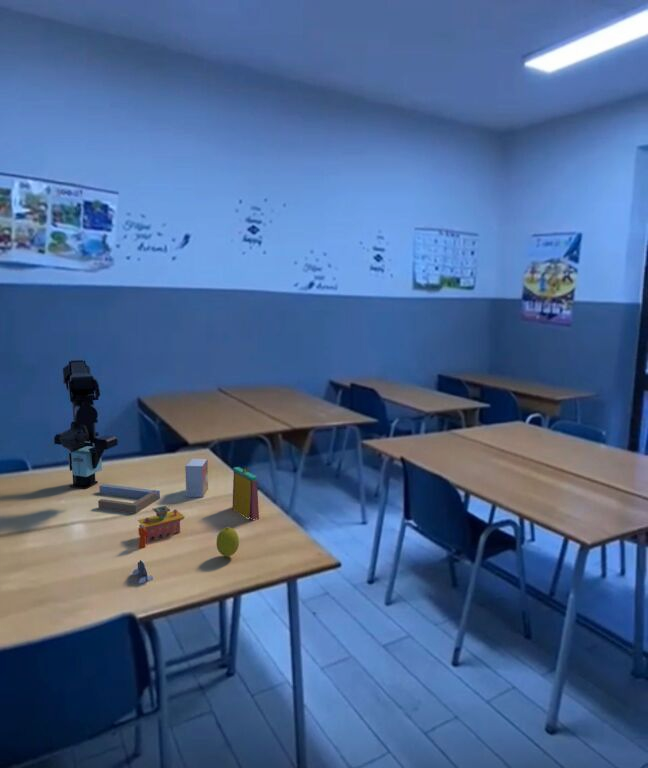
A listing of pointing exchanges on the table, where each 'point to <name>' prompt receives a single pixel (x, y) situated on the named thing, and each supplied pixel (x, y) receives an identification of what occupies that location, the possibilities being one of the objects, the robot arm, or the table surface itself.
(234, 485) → the toy shop counter set
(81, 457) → the blue block with grip
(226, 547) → the lemon
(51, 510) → the table surface
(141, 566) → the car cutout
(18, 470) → the table surface
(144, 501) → the u-shaped bar frame
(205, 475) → the small box
